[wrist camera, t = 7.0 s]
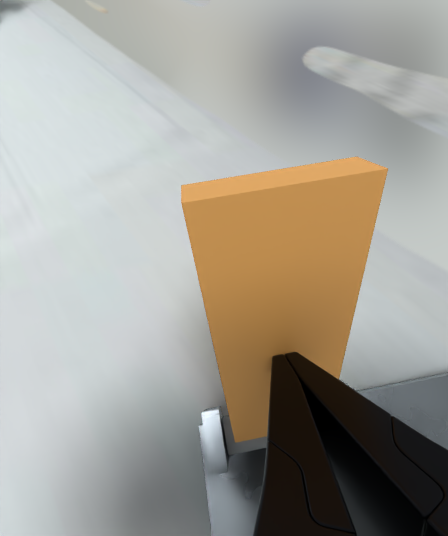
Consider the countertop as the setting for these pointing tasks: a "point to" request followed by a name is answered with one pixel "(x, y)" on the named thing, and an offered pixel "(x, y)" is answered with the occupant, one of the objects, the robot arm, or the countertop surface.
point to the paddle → (279, 273)
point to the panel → (253, 462)
